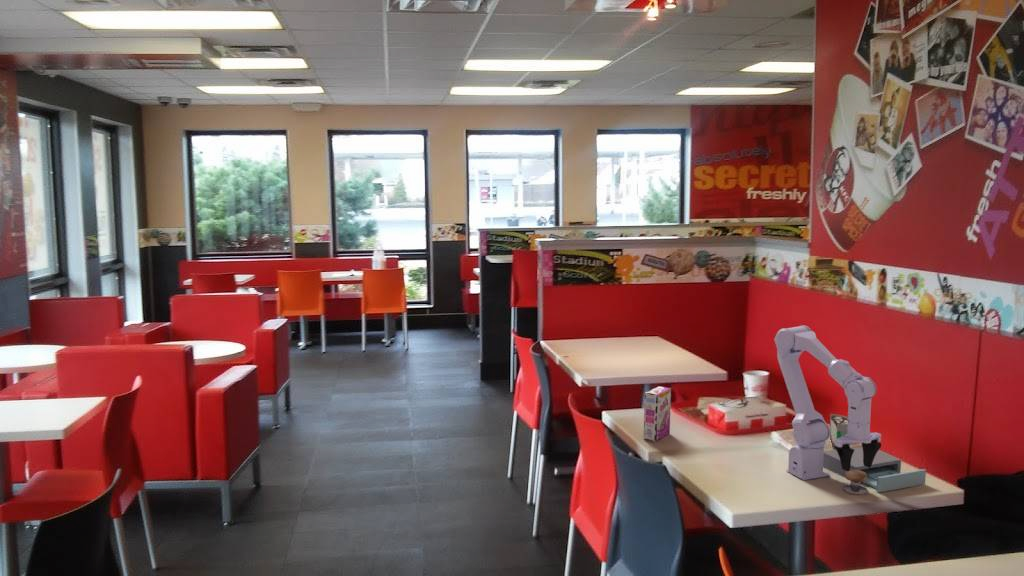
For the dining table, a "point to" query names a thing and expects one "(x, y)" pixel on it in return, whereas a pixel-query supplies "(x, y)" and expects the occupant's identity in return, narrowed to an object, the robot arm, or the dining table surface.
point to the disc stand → (855, 488)
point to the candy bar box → (657, 413)
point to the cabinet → (859, 461)
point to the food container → (837, 427)
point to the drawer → (893, 478)
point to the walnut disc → (856, 476)
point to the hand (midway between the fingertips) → (856, 468)
